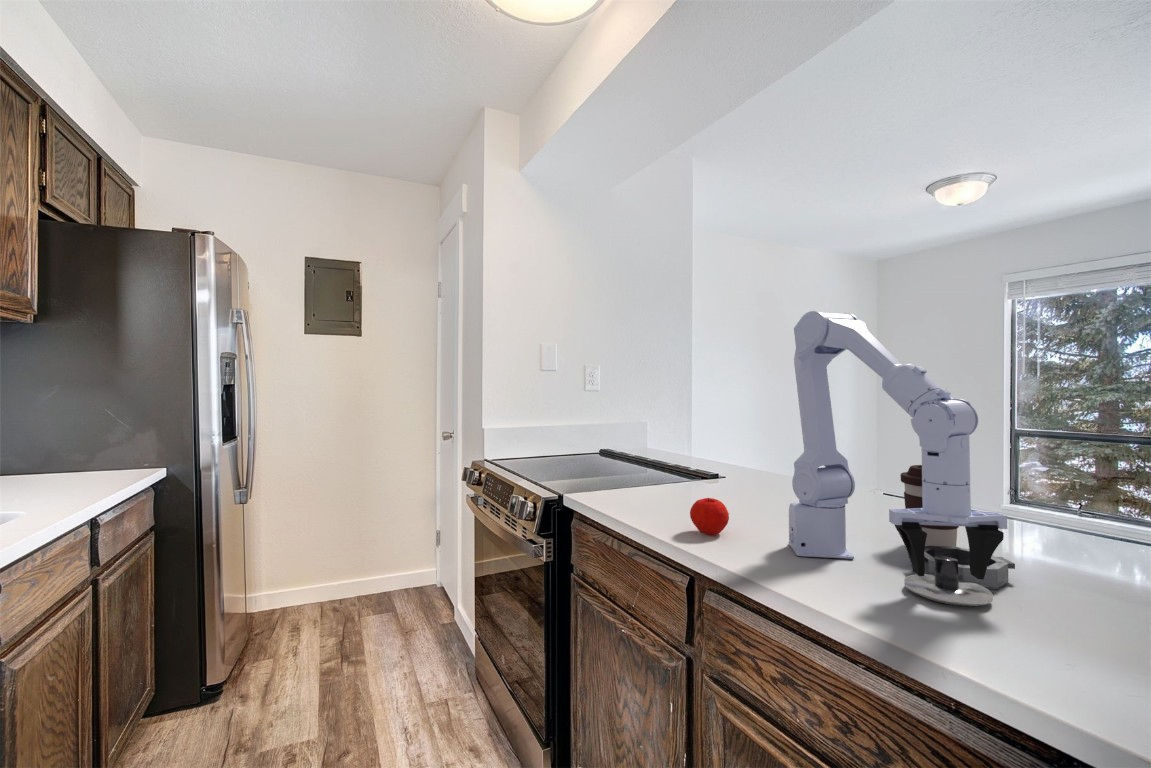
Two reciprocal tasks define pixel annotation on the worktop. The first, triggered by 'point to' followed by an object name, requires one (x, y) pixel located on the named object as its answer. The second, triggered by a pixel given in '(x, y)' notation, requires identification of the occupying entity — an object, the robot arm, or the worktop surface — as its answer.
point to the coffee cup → (913, 499)
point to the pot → (994, 572)
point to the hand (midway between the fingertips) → (947, 575)
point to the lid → (948, 585)
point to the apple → (709, 516)
